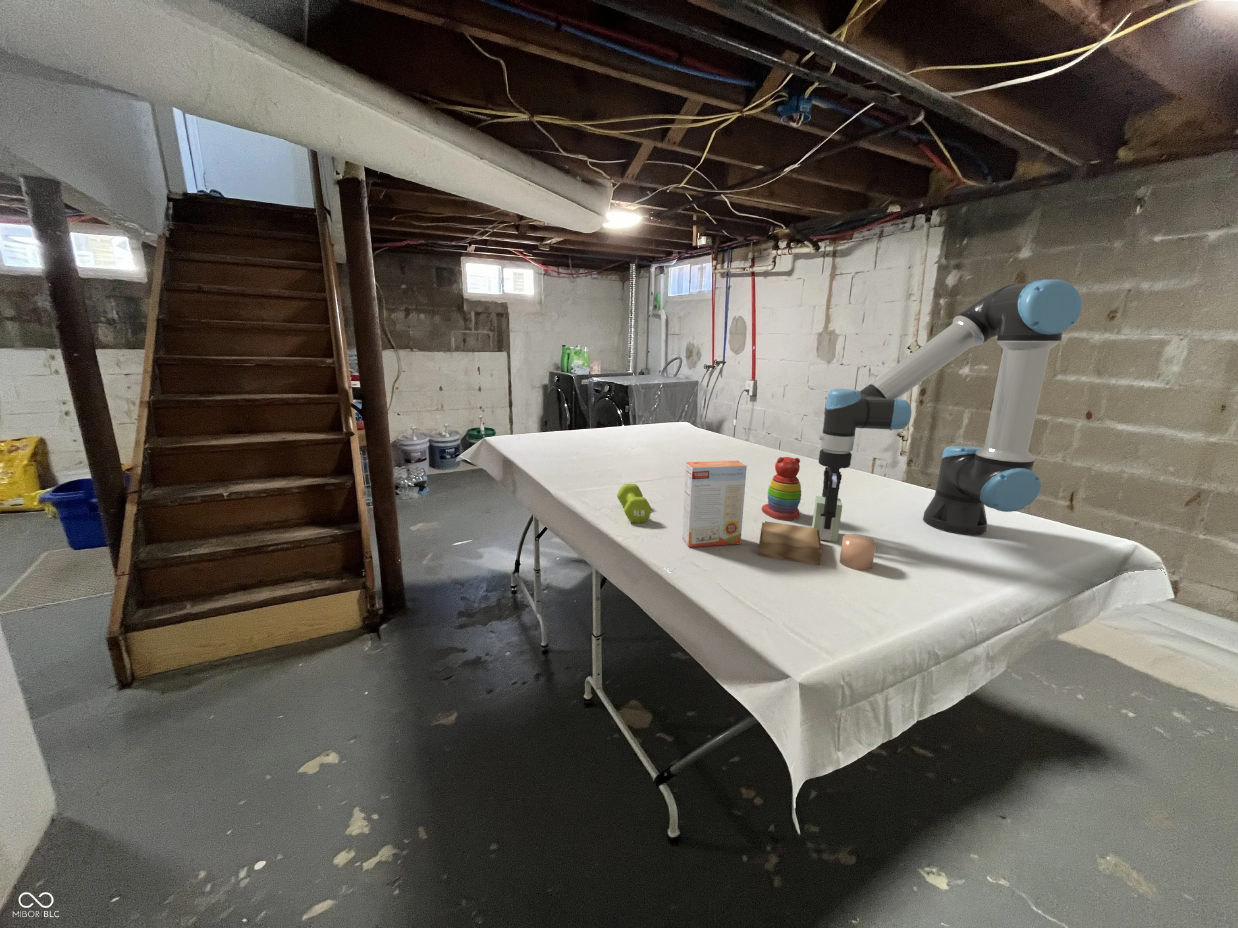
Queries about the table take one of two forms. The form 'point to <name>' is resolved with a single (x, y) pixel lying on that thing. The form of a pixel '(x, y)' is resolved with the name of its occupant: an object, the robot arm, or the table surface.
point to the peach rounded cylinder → (857, 552)
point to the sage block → (818, 519)
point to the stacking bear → (784, 490)
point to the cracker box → (713, 503)
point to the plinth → (790, 542)
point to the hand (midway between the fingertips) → (824, 534)
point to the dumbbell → (634, 503)
